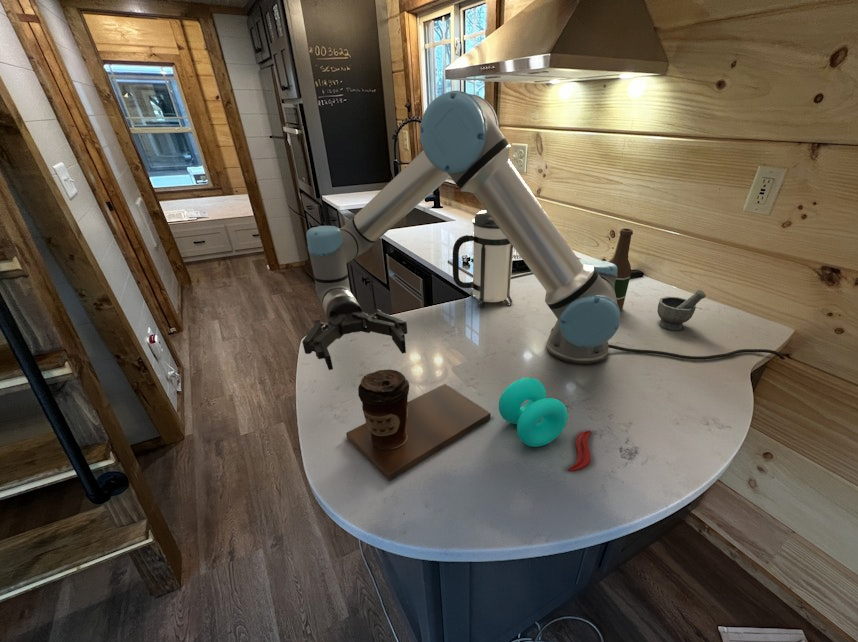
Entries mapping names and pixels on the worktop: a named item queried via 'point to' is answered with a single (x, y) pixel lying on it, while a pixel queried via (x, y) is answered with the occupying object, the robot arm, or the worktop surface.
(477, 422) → the walnut board
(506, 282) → the coffee press
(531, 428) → the donuts
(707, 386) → the worktop surface
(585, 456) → the cayenne pepper
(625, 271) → the beer bottle
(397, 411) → the coffee cup
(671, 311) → the mortar and pestle
